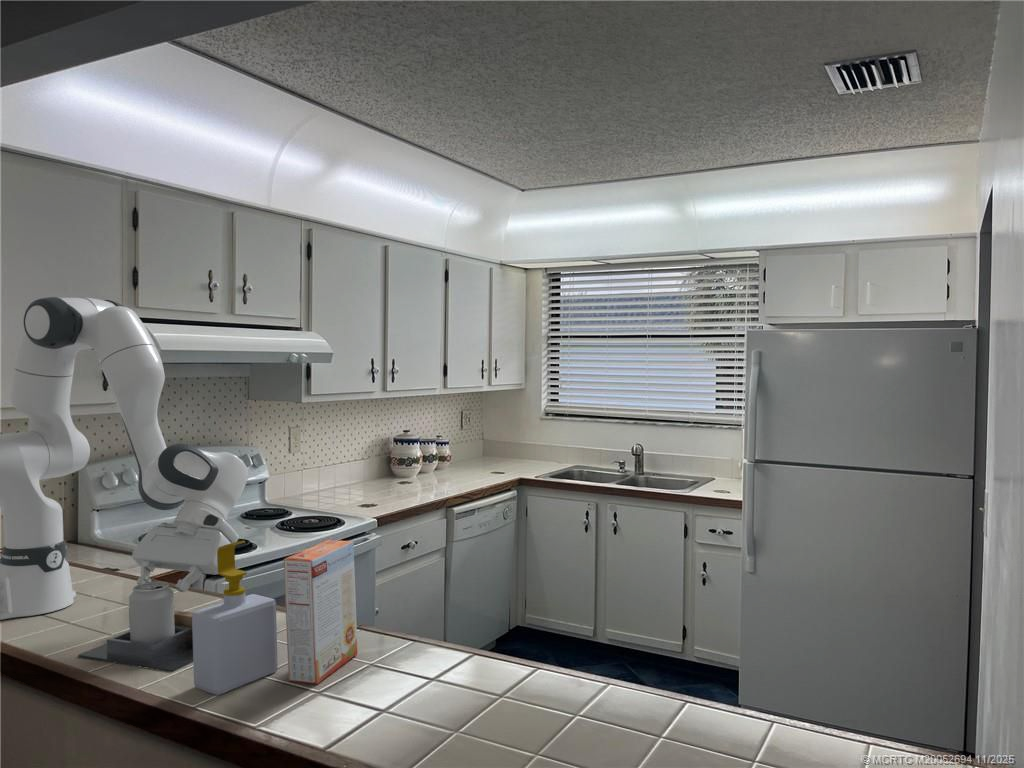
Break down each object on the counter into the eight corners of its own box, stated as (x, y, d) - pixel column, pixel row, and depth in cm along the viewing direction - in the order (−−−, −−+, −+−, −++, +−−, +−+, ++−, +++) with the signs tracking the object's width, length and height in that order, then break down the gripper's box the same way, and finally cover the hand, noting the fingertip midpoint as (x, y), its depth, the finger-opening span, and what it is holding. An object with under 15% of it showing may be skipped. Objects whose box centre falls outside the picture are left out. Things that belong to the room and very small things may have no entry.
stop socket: (78, 656, 144) (77, 638, 144) (131, 635, 155) (131, 617, 155) (172, 672, 136) (171, 652, 136) (221, 647, 147) (220, 629, 147)
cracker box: (329, 651, 144) (326, 538, 143) (358, 655, 142) (356, 540, 142) (285, 682, 131) (281, 557, 130) (316, 686, 129) (313, 559, 128)
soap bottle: (216, 697, 125) (212, 551, 124) (192, 687, 129) (188, 546, 128) (279, 671, 135) (275, 536, 134) (255, 663, 139) (251, 532, 138)
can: (165, 656, 142) (163, 590, 142) (123, 657, 142) (121, 591, 141) (181, 641, 150) (179, 578, 149) (141, 642, 149) (139, 580, 149)
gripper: (148, 513, 158) (108, 574, 149) (229, 520, 151) (193, 584, 142) (166, 531, 163) (128, 591, 154) (246, 538, 155) (211, 601, 146)
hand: (160, 588), depth 148 cm, fingers open, 8 cm apart
